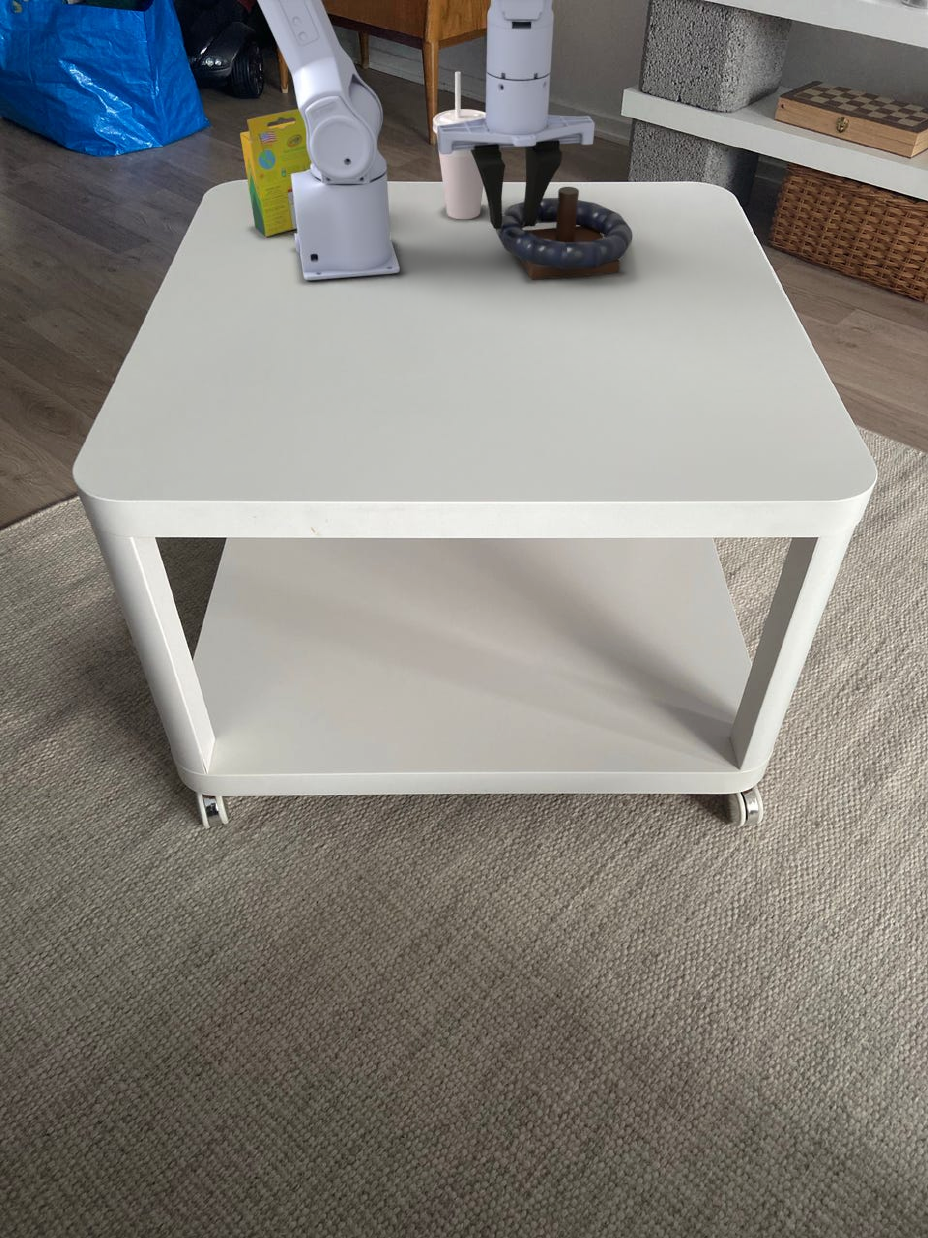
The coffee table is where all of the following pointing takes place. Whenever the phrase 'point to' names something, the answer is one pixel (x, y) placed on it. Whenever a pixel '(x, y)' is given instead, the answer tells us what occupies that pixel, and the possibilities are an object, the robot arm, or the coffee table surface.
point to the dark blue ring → (566, 252)
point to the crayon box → (274, 168)
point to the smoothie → (460, 165)
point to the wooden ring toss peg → (567, 239)
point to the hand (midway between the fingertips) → (512, 223)
